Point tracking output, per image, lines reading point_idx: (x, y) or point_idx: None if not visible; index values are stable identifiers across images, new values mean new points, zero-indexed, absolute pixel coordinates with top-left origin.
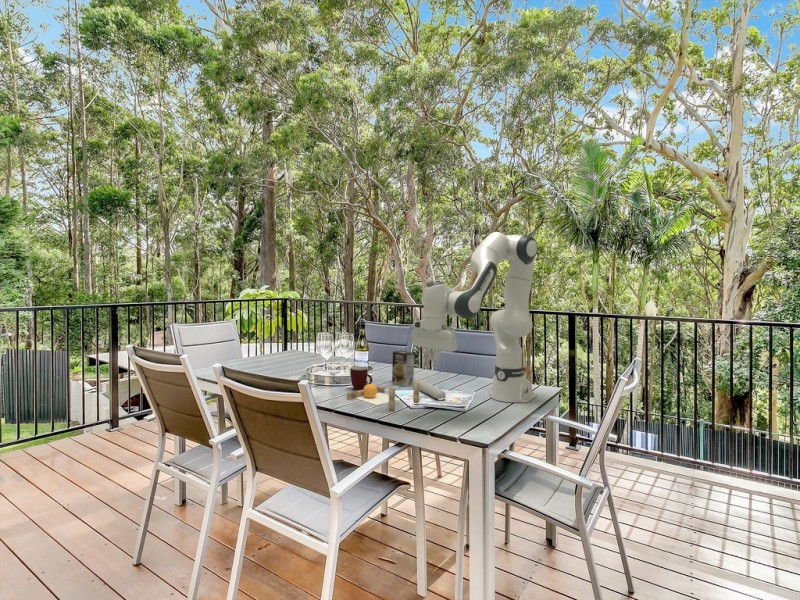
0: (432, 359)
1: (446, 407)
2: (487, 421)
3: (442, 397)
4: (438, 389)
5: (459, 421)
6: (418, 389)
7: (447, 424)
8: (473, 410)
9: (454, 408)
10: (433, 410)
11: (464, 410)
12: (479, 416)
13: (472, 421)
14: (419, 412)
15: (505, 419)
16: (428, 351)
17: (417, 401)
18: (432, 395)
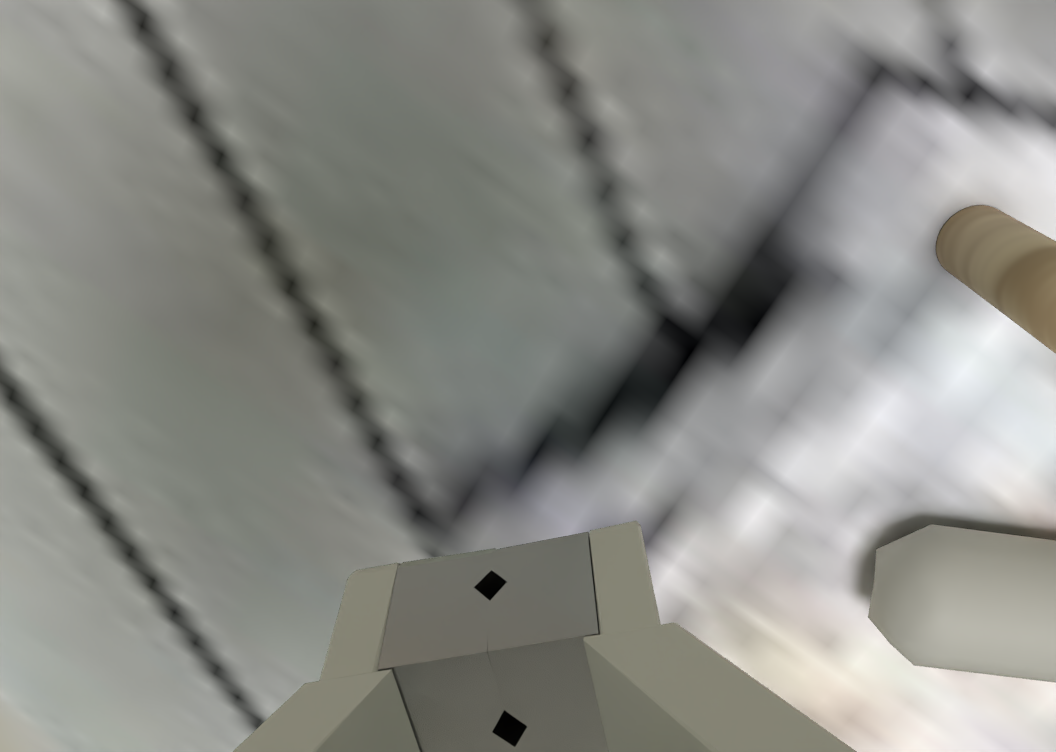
0: (467, 557)
1: (653, 461)
2: (67, 515)
3: (875, 582)
4: (998, 637)
5: (162, 280)
6: (1035, 319)
7: (110, 89)
8: None
9: (578, 508)
10: (642, 272)
11: (469, 548)
12: (235, 548)
13: (115, 396)
14: (669, 67)
15: (69, 674)
16: (742, 746)
17: (957, 249)
18: (1022, 544)
